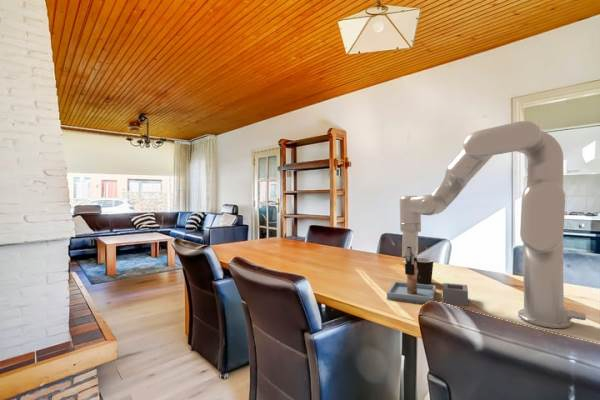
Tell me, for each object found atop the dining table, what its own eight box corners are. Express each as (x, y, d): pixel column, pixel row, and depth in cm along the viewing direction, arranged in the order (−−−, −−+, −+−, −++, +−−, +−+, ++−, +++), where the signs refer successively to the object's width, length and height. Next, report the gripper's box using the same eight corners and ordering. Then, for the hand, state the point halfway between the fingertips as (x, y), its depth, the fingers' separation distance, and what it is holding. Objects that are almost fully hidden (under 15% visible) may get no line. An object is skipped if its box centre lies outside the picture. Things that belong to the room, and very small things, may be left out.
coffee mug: (436, 285, 130) (435, 262, 130) (414, 285, 132) (414, 262, 132) (430, 278, 142) (429, 256, 142) (410, 277, 143) (410, 256, 143)
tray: (435, 291, 123) (435, 285, 123) (433, 305, 108) (432, 298, 108) (394, 287, 130) (394, 281, 130) (387, 299, 116) (386, 292, 116)
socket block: (467, 298, 114) (467, 285, 114) (468, 305, 107) (467, 291, 107) (443, 295, 118) (443, 282, 118) (442, 302, 111) (442, 288, 110)
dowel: (417, 292, 120) (417, 261, 120) (416, 294, 117) (415, 263, 117) (407, 290, 121) (407, 260, 121) (406, 293, 118) (406, 262, 118)
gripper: (403, 225, 128) (404, 265, 128) (396, 229, 113) (397, 276, 113) (423, 225, 125) (423, 267, 125) (418, 230, 109) (419, 278, 110)
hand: (411, 271), depth 119 cm, fingers open, 9 cm apart
